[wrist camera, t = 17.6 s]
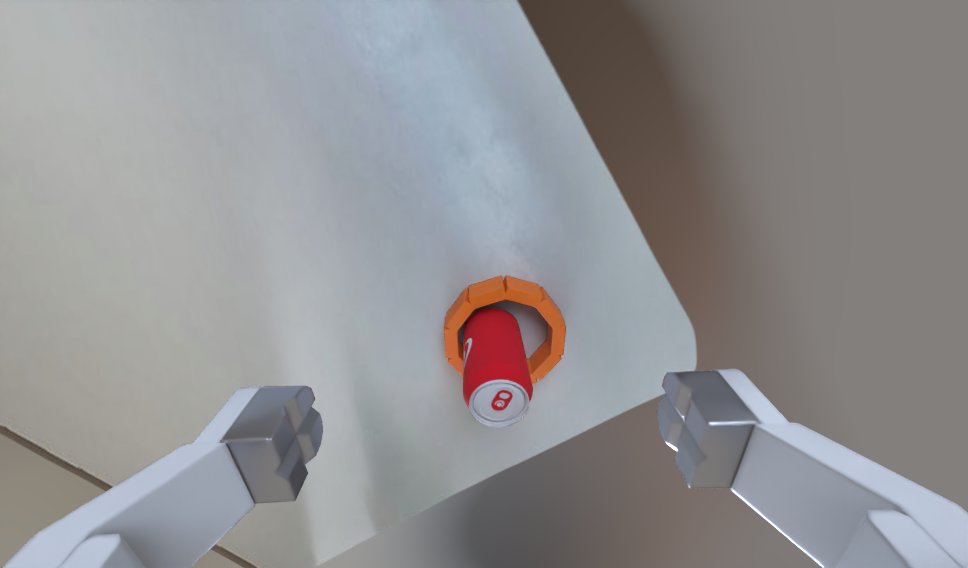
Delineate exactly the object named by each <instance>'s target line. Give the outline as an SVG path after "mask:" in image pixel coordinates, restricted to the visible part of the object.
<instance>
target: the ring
mask: <svg viewBox="0 0 968 568" xmlns="http://www.w3.org/2000/svg"><path fill="white" fill-rule="evenodd" d="M502 300H510V301H514V302H517V303H521V304H525V305H529V306H533V307H536V308H537V310H538V311H539V312H540V313H541V315H542V316H543V317H544V318H545V320H546V321H547V322H548V328H547V340H546V341H545V342H544V343H543V344H542V345H541V346H540V347H539V348H538V350H537V351H536V352H535V353H534V354H533V355H532V356H531V357H530V358H529V359H526V360H527V364H528V368H529V373H530V377H531V382H532V383H536V382H537V378H538V379H540V380H541V379H542V378H543V377H544V376H545V375H546V374H547V373H548V372H549V371H550V370H551V369H552V368H553V367H554V366H555V365H556V364H557V363H558V362H559V361H560V360H561V355H563V354H564V343H565V333H566V326H565V322H564V319H563V317H562V314H561V311H560V309H559V308H558V307H557V305H556V304H555V303H554V301H553V300H552V299H551V298H550V296H549V295H548V294H547V292H546V291H545V290H544V288H543V287H540V288H539V285H538V284H535V283H532V282H528V281H524V280H521V279H517V278H513V277H510V276H506V277H505V279H504V280H503V278H502V276H498V277H495V278H492V279H489V280H486V281H483V282H479V283H476V284H473V285H470V286H469V290H468V289H466V288H465V289H464V291H463V292H462V293H461V295H460V296H459V297H458V299H457V300H456V301H455V303H454V304H453V305H452V306H451V308H450V309H449V310H448V312H447V316H446V318H445V326H444V337H445V351H446V358H448V362H449V363H450V364H451V365H452V366H453V367H454V368H455V369H456V370H457V371H458V372H459V373H460V374H461V375H462V376H463V352H464V346H463V345H462V344H461V343H460V340H459V328H460V327H461V326H462V325H463V323H464V322H465V321H466V320H467V318H468V317H469V316H470V314H471V313H472V312H473V311H474V309H476V308H479V307H483V306H486V305H489V304H493V303H496V302H499V301H502Z"/></svg>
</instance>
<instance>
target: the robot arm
mask: <svg viewBox="0 0 968 568" xmlns="http://www.w3.org/2000/svg"><path fill="white" fill-rule="evenodd" d="M662 387H663V389H664V390H665V392H666V395H665V396H664V397H663V398H662V399H661V400H660V401H659V404H658V410H657V416H658V425H659V428H660V432H661V434H662V436H663V438H664V440H665V442H666V444H667V445H669V446H670V447H672V448H673V449H674V450H676V451H677V455H676V458H675V461H676V463H677V465H678V467H679V469H680V471H681V473H682V475H683V477H684V479H685V481H686V482H687V484H688V486H689V488H731V491H733V492H734V493H735V494H736V495H737V496H739V497H740V498H741V499H742V500H743V501H745V502H746V503H747V504H748V505H749V506H750V507H752V508H753V509H754V510H755V511H756V512H758V513H759V514H760V515H761V516H762V517H764V518H765V519H766V520H767V521H768V522H769V523H771V524H772V525H773V526H774V527H775V528H776V529H778V530H779V531H780V532H781V533H782V534H784V535H785V536H786V537H787V538H788V539H790V540H791V541H792V542H793V543H794V544H795V545H797V546H798V547H799V548H800V549H801V550H803V551H804V552H805V553H806V554H807V555H809V556H810V557H811V558H812V559H813V560H814V561H816V562H817V563H818V564H819V565H820V566H822V567H823V568H968V513H967V512H966V511H965V510H963V509H962V508H961V507H960V506H959V505H957V504H955V503H953V502H951V501H949V500H947V499H945V498H943V497H941V496H939V495H938V494H936V493H934V492H932V491H930V490H928V489H926V488H924V487H922V486H920V485H918V484H916V483H914V482H912V481H910V480H908V479H906V478H904V477H902V476H900V475H898V474H897V473H894V472H893V471H891V470H889V469H887V468H885V467H883V466H881V465H879V464H877V463H875V462H873V461H871V460H869V459H867V458H865V457H863V456H861V455H859V454H857V453H855V452H854V451H851V450H850V449H848V448H846V447H844V446H842V445H840V444H838V443H836V442H834V441H832V440H830V439H828V438H826V437H824V436H822V435H820V434H818V433H816V432H814V431H812V430H811V429H809V428H807V427H805V426H803V425H801V424H799V423H789V422H788V421H787V420H786V419H785V417H783V415H782V414H781V413H780V412H779V411H778V410H777V409H776V408H775V407H774V406H773V405H772V404H771V402H769V400H768V399H767V398H766V397H765V396H764V395H763V394H762V393H761V392H760V391H759V390H758V389H757V387H756V386H755V385H754V384H753V383H752V382H751V381H750V380H749V379H748V378H747V377H746V376H745V375H744V373H743V372H741V371H739V370H737V369H723V370H712V371H690V372H667V374H666V375H665V377H664V380H663V384H662ZM314 401H315V397H314V394H313V391H312V389H311V388H310V387H308V386H264V387H242V388H240V389H238V390H236V391H235V392H234V394H233V395H232V396H231V397H230V398H229V400H228V401H227V402H226V403H225V405H224V406H223V407H222V408H221V409H220V411H219V412H218V413H217V414H216V415H215V417H214V418H213V419H212V420H211V422H210V423H209V424H208V425H207V426H206V428H205V429H204V430H203V431H202V432H201V434H200V435H199V436H198V437H197V439H196V440H195V441H194V442H193V443H192V444H184V445H183V446H181V447H179V448H178V449H176V450H174V451H173V452H171V453H169V454H168V455H166V456H164V457H163V458H161V459H159V460H158V461H156V462H154V463H153V464H151V465H149V466H148V467H146V468H144V469H143V470H141V471H139V472H138V473H136V474H134V475H133V476H131V477H129V478H128V479H126V480H124V481H123V482H121V483H119V484H118V485H116V486H114V487H113V488H111V489H109V490H108V491H106V492H104V493H103V494H101V495H100V496H98V497H96V498H94V499H93V500H91V501H90V502H88V503H86V504H84V505H83V506H81V507H80V508H78V509H77V510H74V511H73V512H71V513H70V514H68V515H66V516H65V517H63V518H61V519H60V520H58V521H56V522H55V523H53V524H51V525H50V526H48V527H46V528H45V529H43V530H41V531H40V532H38V533H36V534H35V535H34V536H33V537H32V538H31V539H30V540H29V541H28V542H27V543H26V544H25V545H24V546H23V547H22V548H21V549H20V550H19V551H18V552H17V553H16V554H15V555H14V556H13V557H12V558H11V559H10V560H9V561H8V562H7V563H6V564H5V565H4V566H3V567H2V568H191V567H192V566H193V565H194V564H195V563H196V562H197V561H198V560H199V559H200V558H201V557H203V556H204V555H205V554H206V553H207V552H208V551H209V550H210V549H211V548H212V547H213V546H214V545H215V544H216V543H217V542H218V541H219V540H220V539H221V538H222V537H223V536H224V535H225V534H226V533H228V532H229V531H230V530H231V529H232V528H233V527H234V526H235V525H236V524H237V523H238V522H239V521H240V520H241V519H242V518H243V517H244V516H245V515H246V514H247V513H248V512H249V511H250V510H251V509H252V508H254V507H255V504H256V503H272V502H288V501H295V500H296V498H297V496H298V494H299V492H300V489H301V487H302V485H303V483H304V481H305V479H306V476H307V474H308V472H307V469H306V466H305V464H306V463H308V462H309V461H310V460H311V459H312V458H314V457H315V456H316V454H317V452H318V450H319V447H320V445H321V440H322V434H323V425H322V419H321V416H320V413H319V412H317V411H316V410H315V409H314V408H312V407H311V406H312V404H313V402H314Z"/></svg>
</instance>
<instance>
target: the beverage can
mask: <svg viewBox="0 0 968 568" xmlns="http://www.w3.org/2000/svg"><path fill="white" fill-rule="evenodd" d="M532 392H533V387H532V382H531V377H530V373H529V368H528V364H527V360H526V355H525V351H524V346H523V342H522V337H521V333H520V328H519V324H518V322H517V320H516V319H515V317H514V316H513V315H512V314H510V313H509V312H507V311H505V310H503V309H499V308H486V309H482V310H480V311H478V312H476V313H474V314H473V315H472V316H471V317H470V318H469V319H468V320H467V322H466V324H465V327H464V352H463V396H464V400H465V402H466V404H467V406H468V408H469V409H470V412H471V414H472V416H473V417H474V418H475V419H476V420H477V421H478V422H480V423H481V424H484V425H486V426H490V427H505V426H509V425H512V424H514V423H516V422H518V421H519V420H521V419H522V418H523V417H524V416H525V414H526V413H527V411H528V408H529V403H530V400H531V397H532Z"/></svg>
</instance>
